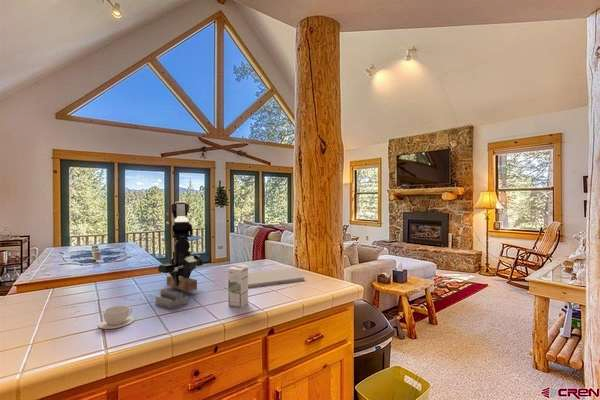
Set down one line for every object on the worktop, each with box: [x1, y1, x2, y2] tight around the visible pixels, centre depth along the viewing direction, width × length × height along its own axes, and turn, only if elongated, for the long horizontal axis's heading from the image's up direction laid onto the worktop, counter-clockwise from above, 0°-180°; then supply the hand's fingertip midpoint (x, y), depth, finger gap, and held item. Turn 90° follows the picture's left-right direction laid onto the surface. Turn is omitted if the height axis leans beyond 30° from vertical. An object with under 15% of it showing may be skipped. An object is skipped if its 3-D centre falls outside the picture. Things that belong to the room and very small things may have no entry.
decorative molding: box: [248, 267, 305, 288], centre depth 147 cm, size 34×5×10 cm
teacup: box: [97, 305, 135, 330], centre depth 98 cm, size 10×10×5 cm
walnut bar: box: [166, 275, 198, 293], centre depth 132 cm, size 16×4×4 cm, turn 56°
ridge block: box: [155, 287, 188, 310], centre depth 116 cm, size 10×7×5 cm
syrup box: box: [227, 265, 249, 308], centre depth 115 cm, size 6×6×14 cm
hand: (181, 284), depth 132 cm, fingers closed on walnut bar, 4 cm apart
